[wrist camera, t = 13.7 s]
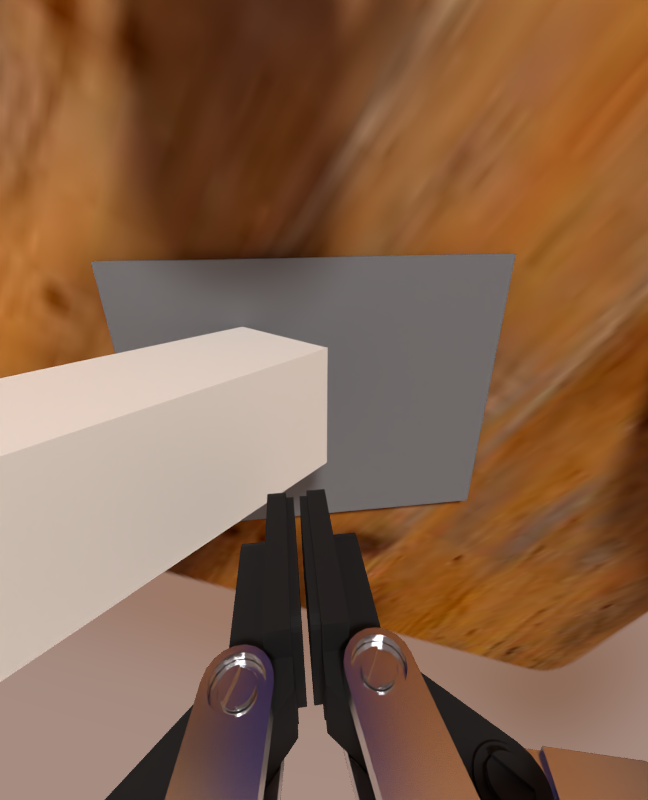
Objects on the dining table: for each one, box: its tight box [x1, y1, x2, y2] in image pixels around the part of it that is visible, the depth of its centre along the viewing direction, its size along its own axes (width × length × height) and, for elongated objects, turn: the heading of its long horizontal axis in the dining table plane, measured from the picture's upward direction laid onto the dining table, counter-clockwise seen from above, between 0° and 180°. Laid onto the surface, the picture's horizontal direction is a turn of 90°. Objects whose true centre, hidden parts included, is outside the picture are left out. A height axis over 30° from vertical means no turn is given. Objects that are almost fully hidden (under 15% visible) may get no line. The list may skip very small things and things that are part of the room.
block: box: [0, 327, 328, 682], centre depth 11 cm, size 5×5×12 cm
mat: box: [91, 254, 516, 521], centre depth 18 cm, size 18×14×1 cm
